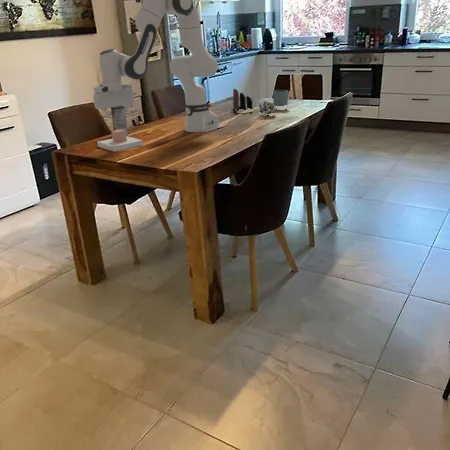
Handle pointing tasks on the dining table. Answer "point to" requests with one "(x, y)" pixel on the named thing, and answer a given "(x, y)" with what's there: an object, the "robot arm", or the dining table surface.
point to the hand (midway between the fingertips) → (116, 115)
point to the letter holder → (241, 101)
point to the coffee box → (119, 118)
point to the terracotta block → (119, 136)
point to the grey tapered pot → (280, 97)
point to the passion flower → (267, 108)
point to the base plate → (120, 144)
